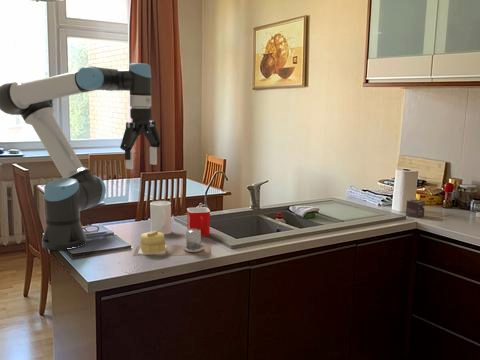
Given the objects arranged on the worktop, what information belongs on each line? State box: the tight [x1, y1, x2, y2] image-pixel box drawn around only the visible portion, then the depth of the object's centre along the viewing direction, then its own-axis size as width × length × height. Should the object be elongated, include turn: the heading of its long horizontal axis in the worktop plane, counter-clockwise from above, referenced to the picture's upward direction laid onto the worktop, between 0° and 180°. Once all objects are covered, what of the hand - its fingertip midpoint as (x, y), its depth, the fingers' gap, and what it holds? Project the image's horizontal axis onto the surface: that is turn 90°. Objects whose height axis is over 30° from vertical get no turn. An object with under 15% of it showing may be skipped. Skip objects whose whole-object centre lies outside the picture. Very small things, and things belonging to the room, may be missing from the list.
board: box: [132, 244, 212, 257], centre depth 165 cm, size 26×11×1 cm, turn 95°
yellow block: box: [139, 231, 166, 253], centre depth 163 cm, size 8×8×6 cm
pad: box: [138, 244, 168, 255], centre depth 164 cm, size 9×9×1 cm
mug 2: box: [186, 206, 211, 237], centre depth 182 cm, size 12×8×11 cm
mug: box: [149, 200, 173, 235], centre depth 188 cm, size 12×8×12 cm
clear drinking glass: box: [183, 229, 204, 253], centre depth 164 cm, size 7×7×7 cm
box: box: [405, 198, 426, 219], centre depth 221 cm, size 6×6×7 cm
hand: (141, 166), depth 173 cm, fingers open, 13 cm apart
